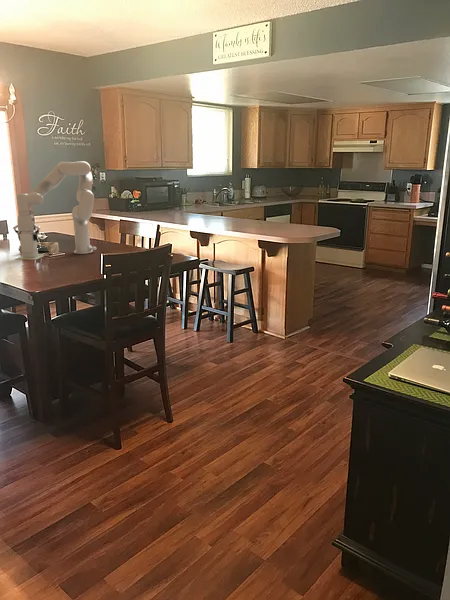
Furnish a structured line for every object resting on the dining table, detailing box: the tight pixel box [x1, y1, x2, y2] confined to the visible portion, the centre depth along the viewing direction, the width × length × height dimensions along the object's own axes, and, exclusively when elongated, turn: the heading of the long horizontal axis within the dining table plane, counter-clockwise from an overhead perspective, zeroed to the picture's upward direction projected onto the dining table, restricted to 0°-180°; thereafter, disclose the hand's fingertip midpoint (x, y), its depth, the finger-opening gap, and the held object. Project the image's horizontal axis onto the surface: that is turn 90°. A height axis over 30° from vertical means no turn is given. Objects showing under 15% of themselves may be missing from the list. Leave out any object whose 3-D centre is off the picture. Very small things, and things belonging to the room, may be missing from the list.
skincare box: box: [19, 232, 39, 258], centre depth 320 cm, size 8×7×16 cm
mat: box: [15, 254, 45, 261], centre depth 322 cm, size 14×12×1 cm
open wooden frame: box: [18, 242, 60, 256], centre depth 336 cm, size 21×14×6 cm, turn 88°
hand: (28, 240), depth 319 cm, fingers open, 9 cm apart
